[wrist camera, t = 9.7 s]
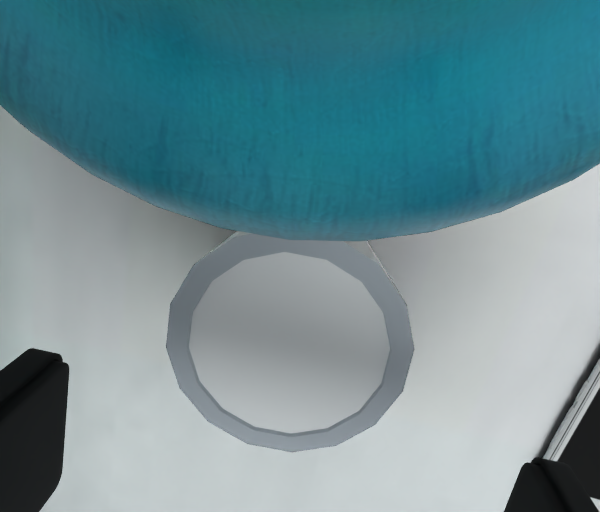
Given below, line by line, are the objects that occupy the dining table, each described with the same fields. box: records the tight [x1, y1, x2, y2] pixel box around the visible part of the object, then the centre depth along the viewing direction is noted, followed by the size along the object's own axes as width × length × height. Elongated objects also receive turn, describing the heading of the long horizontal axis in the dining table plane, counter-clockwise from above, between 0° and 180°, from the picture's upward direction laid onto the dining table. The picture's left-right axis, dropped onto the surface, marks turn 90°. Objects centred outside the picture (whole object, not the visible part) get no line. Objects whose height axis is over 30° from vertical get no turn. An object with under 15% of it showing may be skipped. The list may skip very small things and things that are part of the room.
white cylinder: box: [166, 231, 414, 452], centre depth 17 cm, size 7×7×7 cm
